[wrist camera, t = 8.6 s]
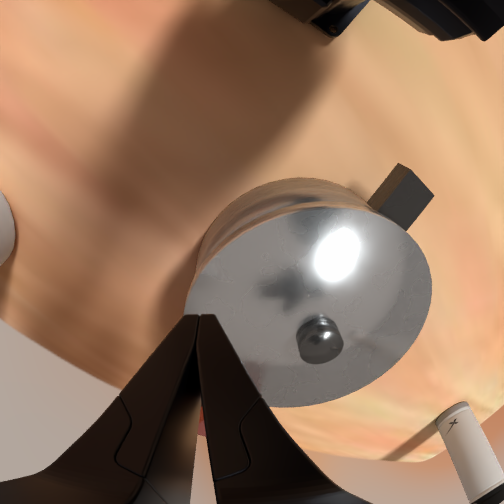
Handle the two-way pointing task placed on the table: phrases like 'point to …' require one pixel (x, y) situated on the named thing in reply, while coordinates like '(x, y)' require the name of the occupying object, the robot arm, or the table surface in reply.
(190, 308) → the lid
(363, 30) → the table surface
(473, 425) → the travel mug
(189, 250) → the table surface
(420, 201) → the pot
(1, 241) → the can
